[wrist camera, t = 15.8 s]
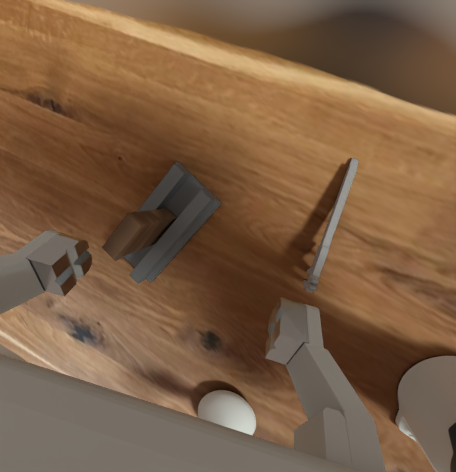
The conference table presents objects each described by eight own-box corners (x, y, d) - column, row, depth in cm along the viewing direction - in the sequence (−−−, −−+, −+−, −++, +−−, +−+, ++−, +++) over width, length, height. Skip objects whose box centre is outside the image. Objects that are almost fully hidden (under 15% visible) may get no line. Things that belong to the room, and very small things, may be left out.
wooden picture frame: (177, 217, 41) (141, 226, 30) (156, 243, 43) (114, 259, 32) (167, 207, 41) (126, 211, 30) (146, 233, 43) (101, 246, 32)
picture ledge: (222, 203, 40) (215, 204, 36) (153, 279, 46) (141, 287, 42) (180, 162, 41) (169, 159, 37) (117, 243, 46) (102, 248, 42)
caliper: (308, 283, 40) (313, 299, 34) (302, 281, 40) (305, 296, 34) (358, 160, 35) (373, 153, 29) (350, 158, 35) (364, 150, 29)
